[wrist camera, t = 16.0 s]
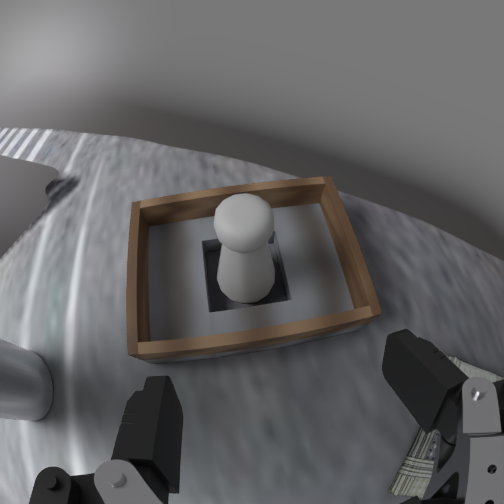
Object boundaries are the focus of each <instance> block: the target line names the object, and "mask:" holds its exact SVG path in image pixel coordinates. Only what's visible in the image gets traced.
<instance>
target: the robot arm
mask: <svg viewBox="0 0 504 504" xmlns="http://www.w3.org/2000/svg"><path fill="white" fill-rule="evenodd" d="M382 371H383V375H384V378H385V379H386V381H387V382H388V383H389V385H390V386H391V387H392V389H393V390H394V391H395V393H396V394H397V395H398V397H399V398H400V399H401V401H402V402H403V403H404V405H405V406H406V407H407V409H408V410H409V411H410V413H411V414H412V415H413V417H414V418H415V419H416V421H417V422H418V424H419V425H420V426H421V428H422V429H423V430H424V432H425V433H426V435H427V434H428V433H430V432H432V431H434V430H436V429H437V430H438V431H439V434H438V437H437V443H436V451H435V458H434V465H433V471H432V476H431V479H430V482H429V484H428V486H427V488H426V490H425V493H424V495H423V498H422V500H419V498H418V496H417V495H416V496H414V497H412V498H410V499H408V500H407V501H404V502H402V503H400V504H504V379H502V380H499V381H496V382H493V383H492V382H491V381H490V380H488V379H486V378H484V377H472V378H469V377H468V376H467V375H466V374H465V373H464V372H462V371H461V370H460V369H459V368H458V367H457V366H456V365H455V364H454V363H453V362H452V361H451V360H450V359H449V358H447V357H445V355H444V354H443V353H442V352H441V351H439V349H438V348H436V347H435V346H434V345H433V344H432V343H431V342H429V341H427V340H425V339H422V338H420V337H419V338H417V337H416V336H415V335H414V334H413V333H412V332H411V331H409V330H408V329H403V330H400V331H397V332H394V333H391V334H389V335H388V336H387V340H386V346H385V352H384V358H383V363H382ZM52 399H53V385H52V379H51V375H50V372H49V370H48V367H47V365H46V364H45V362H44V361H43V359H42V358H41V357H40V356H39V355H37V354H36V353H34V352H32V351H29V350H26V349H24V348H21V347H19V346H16V345H14V344H11V343H9V342H7V341H4V340H2V339H0V418H4V419H13V420H29V421H36V420H40V419H42V418H44V417H45V416H46V415H47V413H48V411H49V410H50V407H51V404H52ZM121 422H122V424H121V425H120V428H119V432H118V435H117V439H116V443H115V447H114V451H113V455H112V458H111V460H110V461H107V462H105V463H103V464H102V465H100V466H99V467H98V469H97V470H96V472H95V473H92V474H86V475H77V476H70V475H68V474H67V473H66V472H65V471H64V470H63V469H61V468H58V467H48V468H45V469H43V470H42V471H41V472H40V473H39V474H38V476H37V478H36V480H35V484H34V487H33V491H32V494H31V498H30V502H29V504H168V496H169V493H177V494H179V482H180V460H181V443H182V428H183V412H182V407H181V404H180V402H179V399H178V397H177V394H176V392H175V389H174V386H173V384H172V381H171V379H170V377H169V376H153V377H147V379H146V382H145V385H144V389H143V391H135V393H134V394H133V395H132V396H131V397H130V399H129V400H128V401H127V404H126V407H125V411H124V415H123V418H122V421H121Z"/></svg>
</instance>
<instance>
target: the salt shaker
mask: <svg viewBox="0 0 504 504" xmlns="http://www.w3.org/2000/svg"><path fill="white" fill-rule="evenodd" d="M214 228H215V232H216V234H217V237H218V240H219V241H220V242H221V243H222V247H221V253H220V260H219V266H218V274H217V280H218V283H219V286H220V289H221V291H222V292H223V293H224V294H225V295H226V296H227V297H228V298H230V299H231V300H232V301H236V302H239V303H242V304H246V303H254V302H257V301H259V300H261V299H262V298H264V297H265V296H267V295H268V293H269V292H270V290H271V288H272V286H273V285H274V282H275V268H274V264H273V260H272V256H271V252H270V247H269V243H268V241H269V239H270V237H271V236H272V234H273V230H274V212H273V211H272V209H271V207H270V205H269V204H268V202H266V201H265V200H264V199H262V198H261V197H259V196H256V195H252V194H248V193H244V194H235V195H232V196H230V197H228V198H227V199H225V200H223V201H222V202H221V204H220V205H219V206H218V207H217V208H216V211H215V217H214Z"/></svg>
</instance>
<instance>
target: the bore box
mask: <svg viewBox="0 0 504 504" xmlns="http://www.w3.org/2000/svg"><path fill="white" fill-rule="evenodd" d="M244 193H248V194H252V195H256V196H259V197H261V198H262V199H264V200H265V201H266V202H268V204H269V205H270V207H271V209H272V211H273V212H274V230H273V234H272V236H271V237H270V239H269V241H268V243H272V242H274V246H275V250H276V254H277V258H278V263H279V267H280V271H281V276H282V280H283V284H284V289H285V293H286V298H287V301H282V302H276V303H270V304H264V305H258V306H252V307H245V308H239V309H232V310H225V311H218V312H211V304H210V295H209V286H208V277H207V268H206V258H205V252H209V251H216V250H221V247H222V243H221V242H220V241H219V240H218V237H217V234H216V232H215V228H214V217H215V211H216V208H217V207H218V206H219V205H220V204H221V202H222V201H223V200H225V199H227V198H228V197H230V196H232V195H235V194H244ZM126 313H127V346H128V355H130V356H133V357H135V358H138V359H140V360H143V361H146V362H148V363H165V362H177V361H188V360H198V359H207V358H215V357H223V356H230V355H237V354H244V353H250V352H257V351H263V350H268V349H274V348H280V347H285V346H290V345H295V344H300V343H305V342H310V341H314V340H319V339H323V338H328V337H332V336H336V335H340V334H344V333H348V332H352V331H356V330H359V329H361V328H362V327H364V326H365V325H367V324H368V323H370V322H371V321H372V320H374V319H375V318H377V317H378V316H379V315H381V314H382V311H381V308H380V305H379V301H378V298H377V295H376V292H375V289H374V286H373V283H372V280H371V277H370V274H369V271H368V268H367V265H366V262H365V260H364V257H363V254H362V251H361V249H360V246H359V243H358V241H357V238H356V235H355V233H354V230H353V228H352V225H351V223H350V220H349V218H348V215H347V213H346V211H345V208H344V206H343V203H342V201H341V199H340V196H339V194H338V192H337V190H336V187H335V185H334V183H333V181H332V178H331V177H330V176H327V177H314V178H302V179H291V180H280V181H271V182H262V183H253V184H245V185H237V186H229V187H222V188H215V189H208V190H201V191H195V192H188V193H182V194H176V195H170V196H164V197H159V198H153V199H148V200H143V201H137V202H132V209H131V219H130V230H129V243H128V261H127V294H126Z"/></svg>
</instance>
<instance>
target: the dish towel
mask: <svg viewBox="0 0 504 504" xmlns="http://www.w3.org/2000/svg"><path fill="white" fill-rule="evenodd" d="M447 358H449V359H450V360H451V361H452V362H453V363H454V364H455V365H456V366H457V367H458V368H459V369H460V370H461V371H462V372H464V373H465V374H466V375H467V376H468V377H469V378H472V377H484V378H486V379H488V380H490V381H491V382H492V383H493V382H496V381H499V380H502V379H504V378H503V377H500V376H498V375H495V374H493V373H491V372H488V371H485V370H482V369H480V368H478V367H475V366H472V365H470V364H467V363H465V362H462V361H460V360H458V359H457V358H456V357H451V356H447ZM438 434H439V431H438V430H437V429H436V430H434V431H432V432H430V433H428V434H427V435H426V433H425V432H424V430H423V429H422V428H421V427H420V430H419V432H418V434H417V436H416V438H415V440H414V442H413V445H412V446H411V448H410V450H409V452H408V454H407V456H406V458H405V460H404V462H403V464H402V466H401V467H400V469H399V471H398V473H397V475H396V477H395V479H394V481H393V483H392V485H391V486H390V488H389V490H388V493H393V494H394V495H404V496H408V497H414V496H416V495H417V496H418V498H419V499H422V498H423V495H424V493H425V490H426V488H427V486H428V484H429V482H430V479H431V476H432V471H433V465H434V458H435V451H436V443H437V437H438Z"/></svg>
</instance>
